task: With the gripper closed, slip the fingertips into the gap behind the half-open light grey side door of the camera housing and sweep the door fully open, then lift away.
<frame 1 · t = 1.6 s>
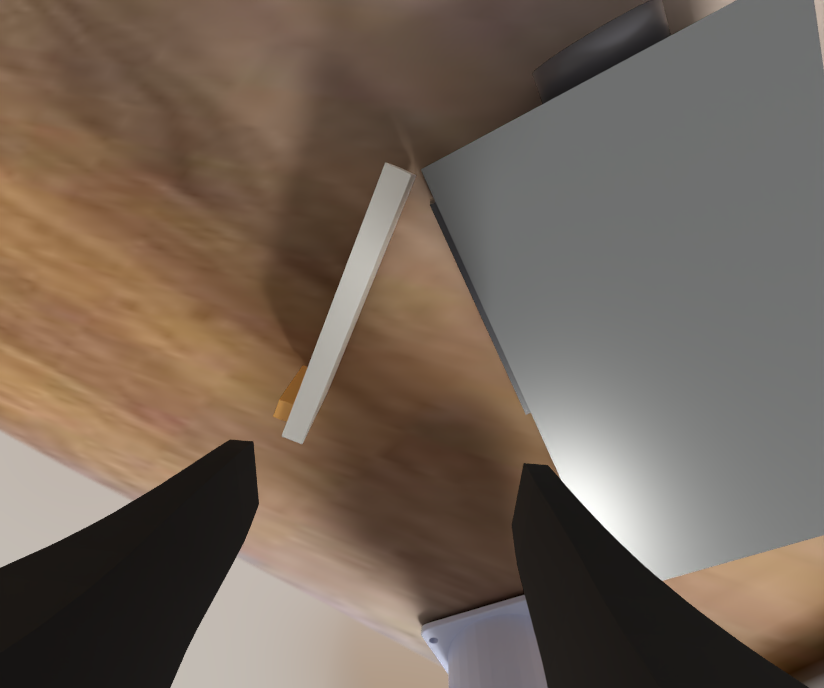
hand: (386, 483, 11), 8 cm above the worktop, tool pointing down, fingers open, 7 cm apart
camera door: (342, 301, 16), point 2 cm above the worktop, hinge at 50.0°
camera housing: (624, 321, 18), on the worktop
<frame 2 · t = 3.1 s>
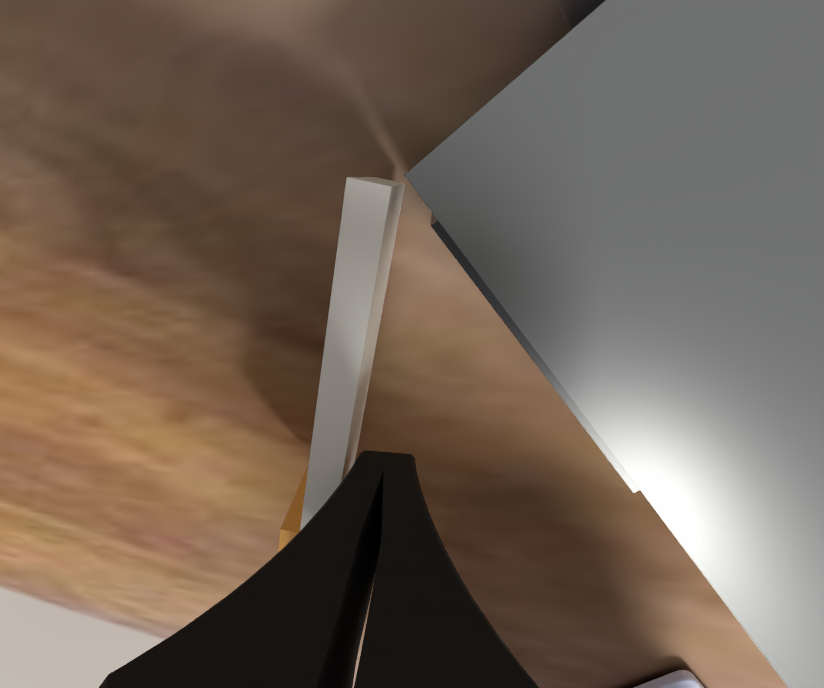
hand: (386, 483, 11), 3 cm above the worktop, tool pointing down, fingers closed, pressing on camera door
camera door: (338, 378, 11), point 2 cm above the worktop, hinge at 50.0°, touching gripper
camera housing: (738, 318, 12), on the worktop
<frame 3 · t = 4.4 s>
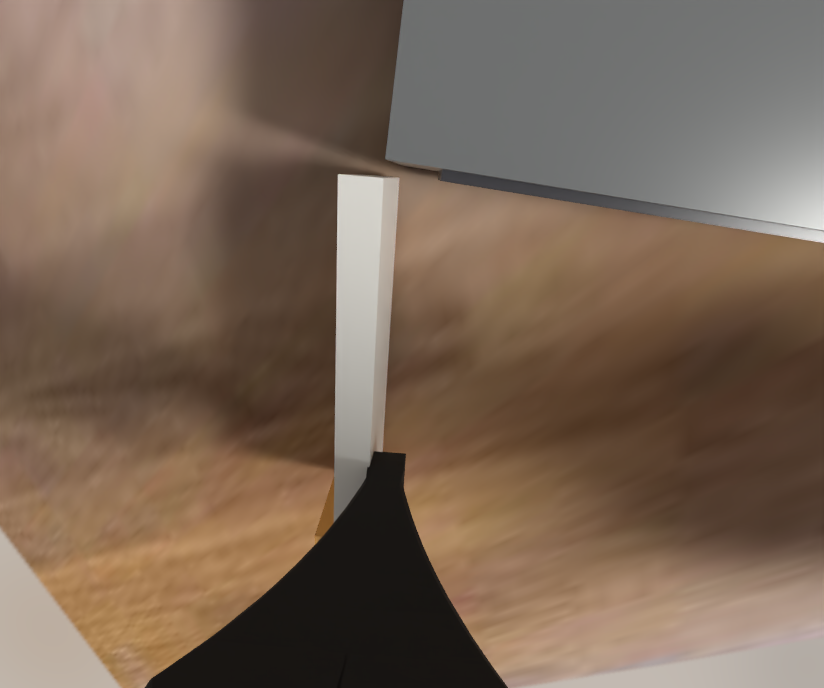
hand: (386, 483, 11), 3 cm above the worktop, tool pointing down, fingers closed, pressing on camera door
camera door: (354, 380, 11), point 2 cm above the worktop, hinge at 85.9°, touching gripper
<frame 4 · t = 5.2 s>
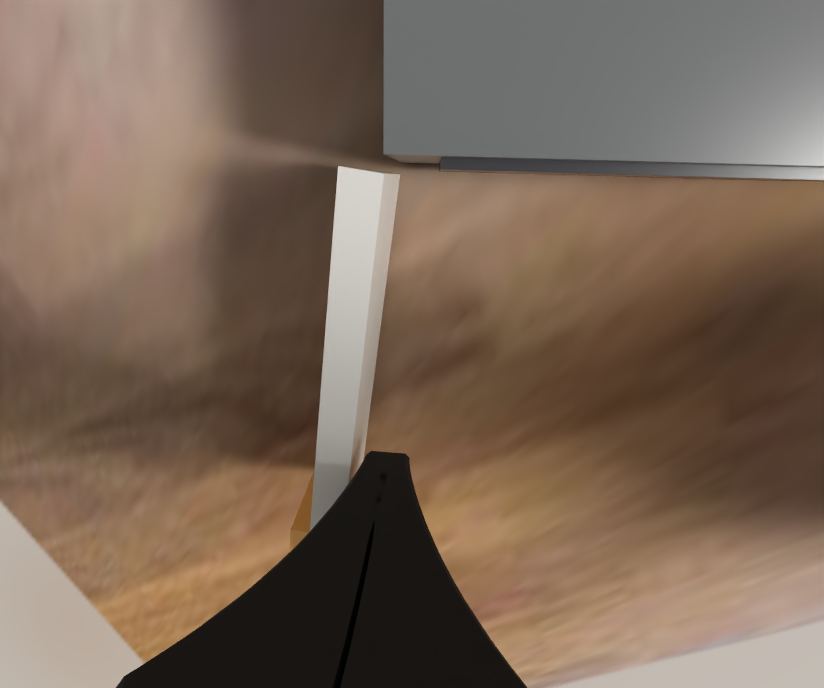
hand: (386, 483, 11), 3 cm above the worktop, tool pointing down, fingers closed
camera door: (341, 375, 11), point 2 cm above the worktop, hinge at 97.0°, touching gripper
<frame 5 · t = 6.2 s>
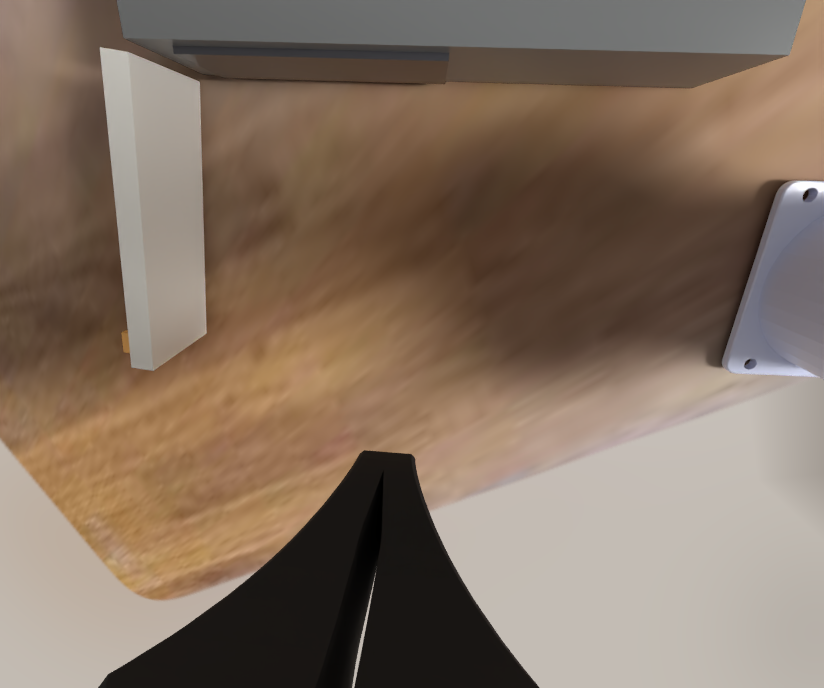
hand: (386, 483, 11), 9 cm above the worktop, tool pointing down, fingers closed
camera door: (157, 222, 16), point 2 cm above the worktop, hinge at 97.0°
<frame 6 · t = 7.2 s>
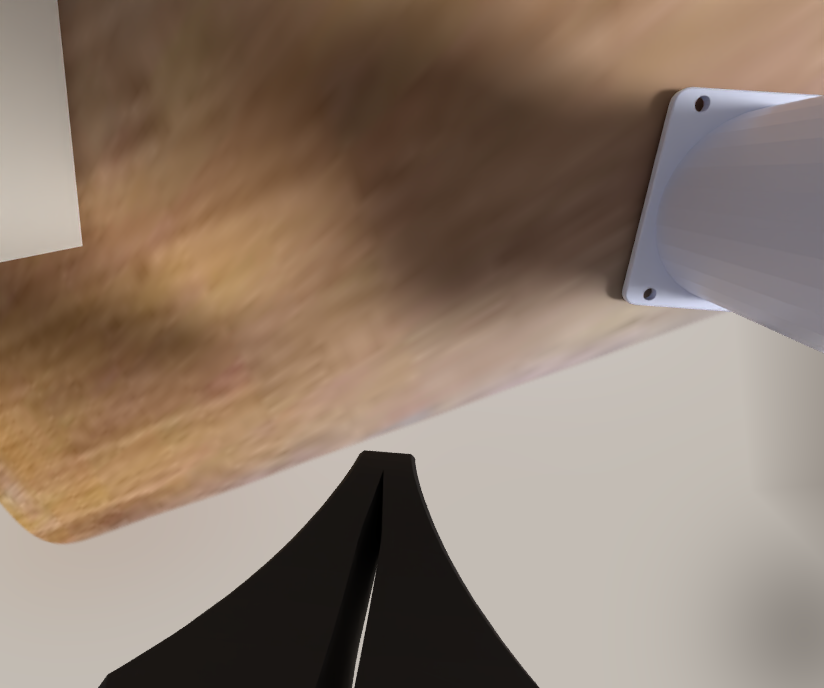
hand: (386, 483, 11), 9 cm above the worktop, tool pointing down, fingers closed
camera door: (2, 105, 15), point 2 cm above the worktop, hinge at 97.0°
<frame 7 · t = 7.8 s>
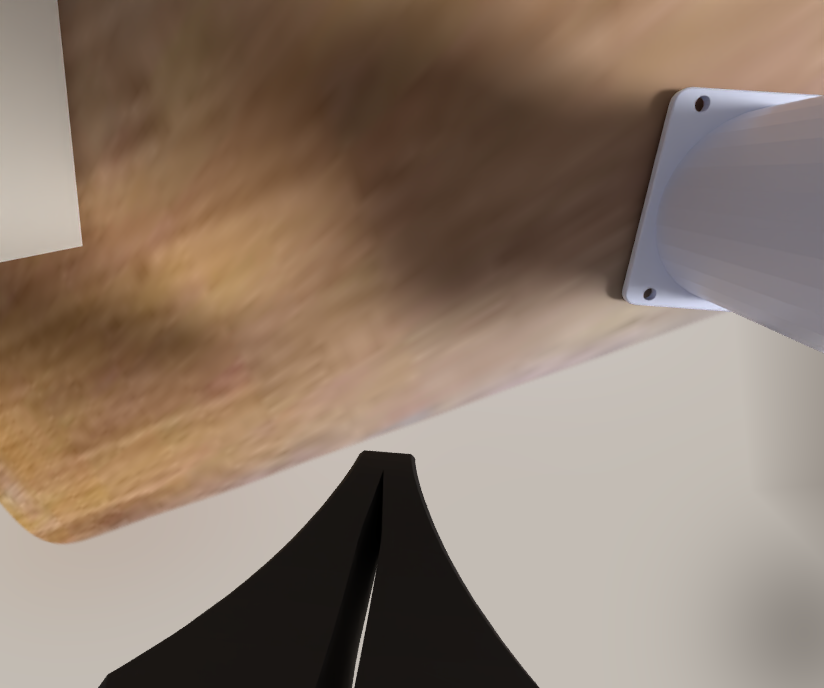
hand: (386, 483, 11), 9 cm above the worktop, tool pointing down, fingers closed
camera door: (2, 105, 15), point 2 cm above the worktop, hinge at 97.0°
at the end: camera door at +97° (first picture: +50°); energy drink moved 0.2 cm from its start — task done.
